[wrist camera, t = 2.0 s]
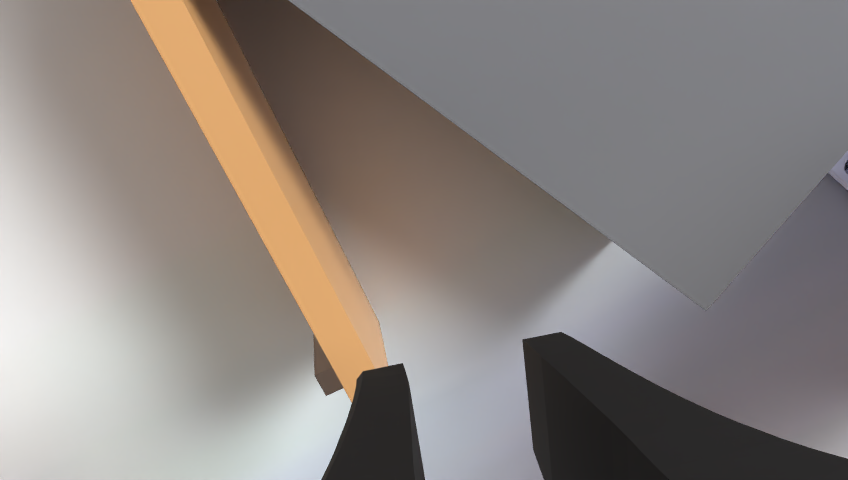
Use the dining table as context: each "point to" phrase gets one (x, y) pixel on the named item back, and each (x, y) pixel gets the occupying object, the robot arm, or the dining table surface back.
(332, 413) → the dining table surface
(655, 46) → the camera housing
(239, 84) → the door
